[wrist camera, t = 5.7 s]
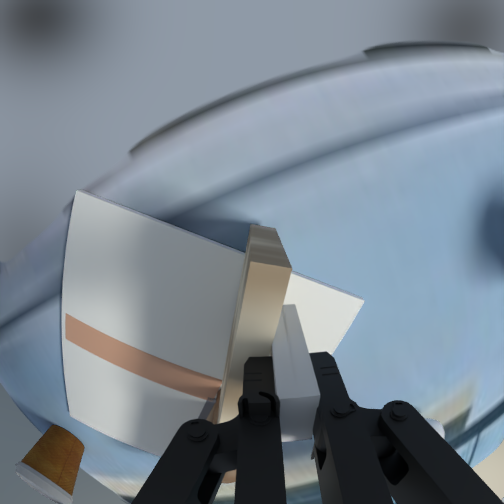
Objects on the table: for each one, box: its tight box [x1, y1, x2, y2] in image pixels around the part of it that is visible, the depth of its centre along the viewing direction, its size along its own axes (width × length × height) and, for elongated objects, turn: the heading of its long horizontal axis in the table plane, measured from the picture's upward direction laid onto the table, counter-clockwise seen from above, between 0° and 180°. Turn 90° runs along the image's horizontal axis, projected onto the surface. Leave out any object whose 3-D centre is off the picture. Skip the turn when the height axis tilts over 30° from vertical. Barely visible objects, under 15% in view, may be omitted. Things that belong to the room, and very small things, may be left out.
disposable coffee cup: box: [15, 425, 84, 504], centre depth 20 cm, size 10×10×12 cm
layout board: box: [62, 189, 364, 457], centre depth 21 cm, size 28×22×1 cm
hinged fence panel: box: [217, 224, 292, 424], centre depth 15 cm, size 13×2×7 cm, turn 170°
